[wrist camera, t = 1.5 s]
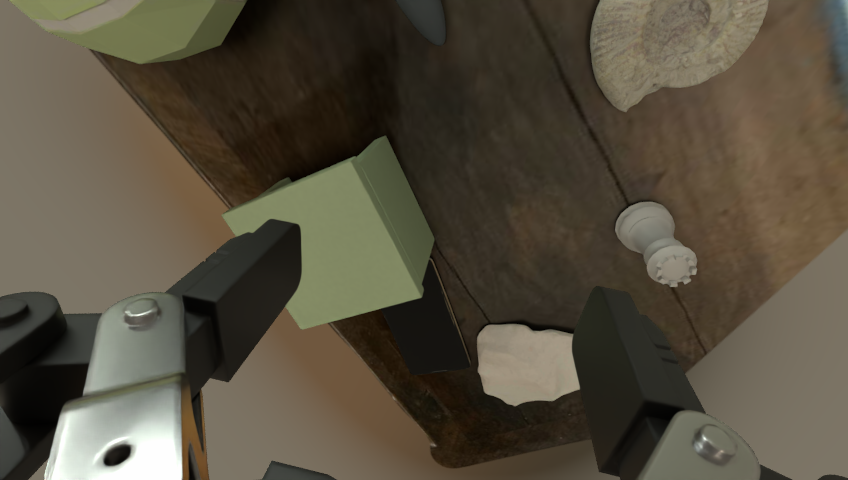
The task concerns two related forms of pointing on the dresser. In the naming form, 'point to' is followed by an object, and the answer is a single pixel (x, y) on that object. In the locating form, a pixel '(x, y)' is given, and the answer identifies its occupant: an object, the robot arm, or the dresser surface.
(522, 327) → the stone
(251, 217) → the shelf
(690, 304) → the dresser surface
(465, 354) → the smartphone
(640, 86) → the fossil
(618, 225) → the rook chess piece
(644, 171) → the dresser surface
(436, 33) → the paintbrush
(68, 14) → the decorative sphere
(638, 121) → the dresser surface
